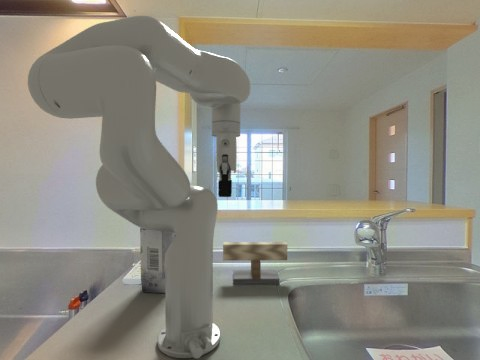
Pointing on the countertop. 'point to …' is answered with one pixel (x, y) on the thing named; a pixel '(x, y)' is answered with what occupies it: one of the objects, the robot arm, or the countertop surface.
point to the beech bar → (254, 251)
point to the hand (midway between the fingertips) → (225, 195)
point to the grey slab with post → (255, 275)
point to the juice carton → (154, 258)
